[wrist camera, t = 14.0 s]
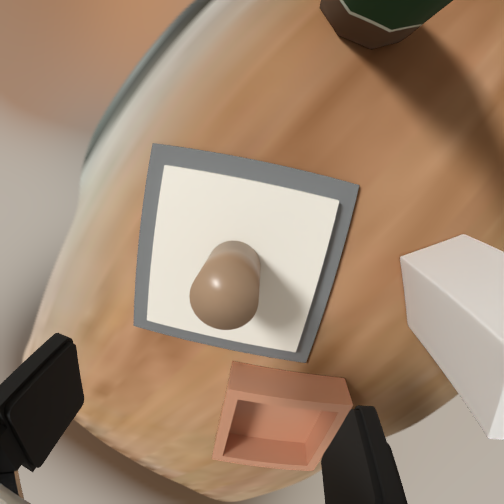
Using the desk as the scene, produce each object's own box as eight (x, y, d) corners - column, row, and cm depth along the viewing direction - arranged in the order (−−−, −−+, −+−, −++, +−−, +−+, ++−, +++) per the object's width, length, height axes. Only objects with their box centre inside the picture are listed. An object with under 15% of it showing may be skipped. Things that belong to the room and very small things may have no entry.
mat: (357, 184, 22) (359, 185, 22) (305, 360, 27) (305, 362, 26) (154, 143, 22) (152, 143, 22) (135, 323, 26) (133, 325, 26)
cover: (337, 199, 22) (364, 213, 16) (294, 347, 26) (301, 399, 19) (167, 164, 22) (130, 166, 16) (149, 316, 26) (119, 359, 19)
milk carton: (406, 325, 25) (513, 483, 7) (398, 255, 24) (560, 400, 5) (466, 300, 24) (589, 417, 6) (462, 232, 23) (628, 324, 4)
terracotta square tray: (344, 377, 27) (353, 405, 23) (310, 445, 30) (313, 470, 26) (232, 361, 27) (227, 388, 23) (216, 432, 30) (211, 458, 26)
